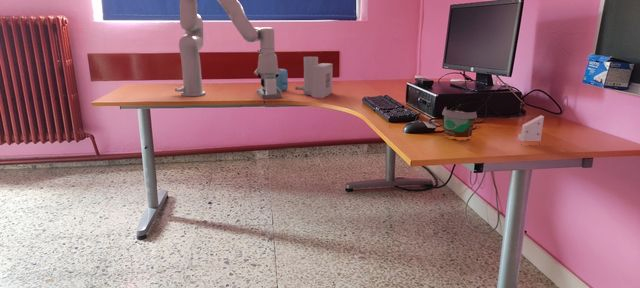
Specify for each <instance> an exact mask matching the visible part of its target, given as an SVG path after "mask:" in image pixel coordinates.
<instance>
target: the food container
mask: <svg viewBox="0 0 640 288" xmlns="http://www.w3.org/2000/svg"><path fill="white" fill-rule="evenodd" d="M441 114H442V116H443V128H444V129H443V134H444V133H445V134H447V135H449V136H454V137H469V136H471V137H472V135H473V129H474V124H475V121H476V119H477V118H478V115H477V111H473V112H466V111H464V110H454V109H453V110H452V109H447V106H445V107H444V108H443V110H442V112H441Z"/></svg>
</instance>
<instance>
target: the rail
mask: <svg viewBox="0 0 640 288" xmlns="http://www.w3.org/2000/svg"><path fill="white" fill-rule="evenodd" d="M260 86H261V87H260V88H256V93H257V94H258V95H259V97H260V98H261V99H262V100H264V99H266V100H267V99H282V91H281V90H280V89H279V88H278V87H277V86H276V77H266V78H265V87H266V90H264V89H263V87H262V85H261V84H260Z"/></svg>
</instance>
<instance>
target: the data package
mask: <svg viewBox="0 0 640 288" xmlns="http://www.w3.org/2000/svg"><path fill="white" fill-rule="evenodd" d="M279 69H280V71H281V72H282V73H281V74H280V75H279V76H278V77H277V78H276V86H277V87H278V88H279V89H280V90H281V92H283V91H287V90H288V89H289V88H288V87H289V86H288V85H289V84H288V83H289V82H288V78H289V77H288V70H287V69H286V68H279ZM276 74H277V73H276ZM276 74H275V75H276Z"/></svg>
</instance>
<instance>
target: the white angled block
mask: <svg viewBox="0 0 640 288" xmlns="http://www.w3.org/2000/svg"><path fill="white" fill-rule="evenodd" d="M544 119H545V116H544V115H542V114H541V115H539V116H536V117H535V118H533V119H531V120H529V121H527V122H526V123H524V124H522V127H521V133H518V134H517V135H518V136H517V140H518V139H519V140H521V141H540V142H541V139H542V131H543V127H544V126H543V125H544Z"/></svg>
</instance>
